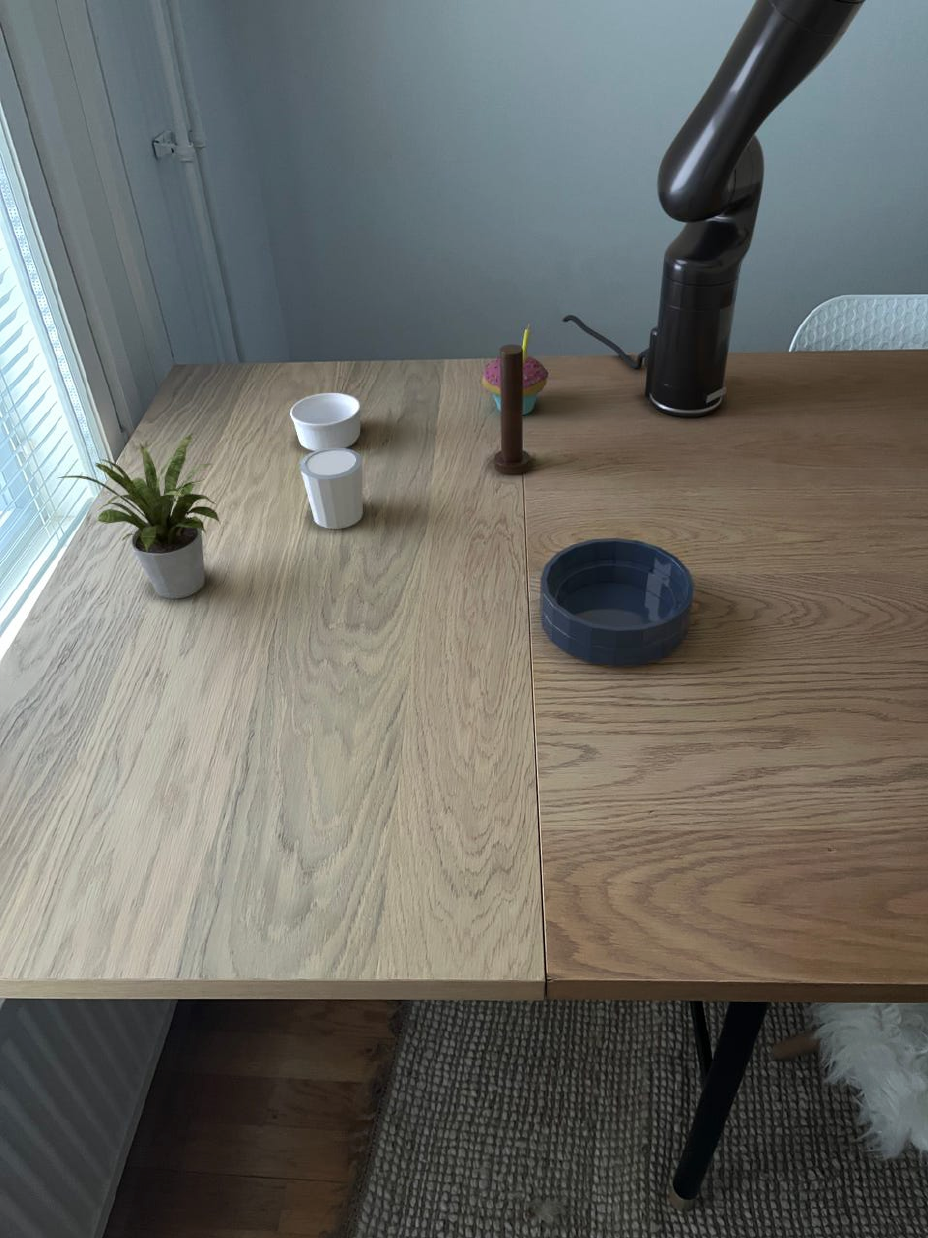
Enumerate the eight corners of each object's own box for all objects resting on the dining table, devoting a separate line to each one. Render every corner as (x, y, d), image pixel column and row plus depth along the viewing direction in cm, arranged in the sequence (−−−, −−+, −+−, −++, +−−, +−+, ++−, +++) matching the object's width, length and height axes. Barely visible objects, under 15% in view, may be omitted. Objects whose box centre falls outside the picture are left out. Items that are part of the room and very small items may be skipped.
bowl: (510, 617, 94) (510, 577, 90) (612, 560, 100) (615, 521, 97) (614, 693, 85) (618, 652, 82) (718, 626, 91) (725, 585, 88)
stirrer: (486, 464, 116) (483, 348, 107) (513, 452, 118) (513, 337, 109) (510, 478, 113) (509, 360, 104) (537, 466, 115) (539, 349, 106)
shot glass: (377, 503, 110) (371, 450, 106) (353, 536, 105) (346, 482, 101) (324, 495, 112) (316, 442, 108) (297, 526, 107) (288, 473, 103)
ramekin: (282, 449, 121) (277, 418, 118) (316, 417, 127) (311, 387, 124) (344, 460, 118) (340, 429, 115) (375, 427, 124) (372, 397, 122)
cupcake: (555, 399, 129) (558, 313, 121) (532, 428, 123) (533, 339, 115) (497, 389, 132) (496, 304, 124) (472, 417, 126) (469, 329, 118)
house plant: (107, 649, 92) (55, 507, 82) (90, 571, 102) (42, 436, 91) (251, 608, 96) (219, 468, 86) (222, 537, 106) (190, 404, 96)
